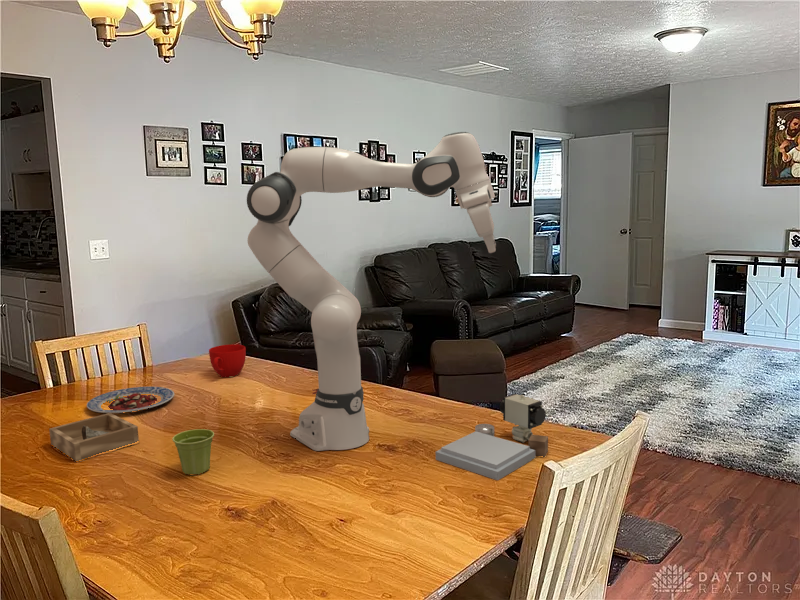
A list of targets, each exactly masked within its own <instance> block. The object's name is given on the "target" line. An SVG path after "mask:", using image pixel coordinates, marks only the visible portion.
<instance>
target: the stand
mask: <svg viewBox="0 0 800 600" xmlns="http://www.w3.org/2000/svg"><path fill="white" fill-rule="evenodd" d="M534 458H535V459H536V456H535V450H533V449H530V446H529V445H527V444H523V443H519V442H515V441H512V440H508V439H504V438H500V437H498V436H495V435H494V436H491V435H487V434H484V433H480V432H476V431H475V430H474V432H471V433H469V434H467V435H464V436H463V437H461V438H459V439H456V440H454V441H452V442H450V443H447V444H445V445H444V446H441V447H440V449H438V450H436V451H435V460H436V461H438V462H442V463H445V464H448V465H451V466H453V467H456V468H459V469H463V470H466V471H468V472H472V473H474V474H478V475H480V476H484V477H487V478H489V479H492V480H496V481H499V480H501V479H502V478H504V477H506V476H508V475H509V474H511V473H512V472H515V471H516V470H518V469H520V468H521V467H524V465H526V464H528V463H529V462H532V461H533V460H535V459H534ZM532 459H533V460H532Z"/></svg>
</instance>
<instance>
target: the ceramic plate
mask: <svg viewBox="0 0 800 600" xmlns="http://www.w3.org/2000/svg"><path fill="white" fill-rule="evenodd" d="M141 394H151V395H148V396H147V395H141ZM152 394H154V395H158V396H160V397H161V401H160V402H158V403H156V404H153V405H151V404H152V403H155V401H157V398H156V397H155V396H153V395H152ZM129 395H130V396H129ZM123 396H127V397H123ZM119 397H120V398H119ZM174 397H175V392H174V390H173V389H171V388H168V387H163V386H136V387H135V386H134V387H128V388H121V389H117V390H113V391H109V392H105V393H102V394H100V395H97V396H95V397H93V398H92V399H90V400H89V401H87V403H86V408H87V409H88V410H90V411H92V412H96V413H103V414H107V413H111V414H124V413H123V412H131V413H133V412H132V411H138V410H142V411H144V410H143V409H146V410H149V409H152V408H154V407H158V406H161V405H163V404H166V403H167V402H169V401H171V400H172V399H173V398H174ZM111 399H113V400H115V401H113V400H111ZM106 401H107V402H108V401H109V403H110V402H111V401H113V402H112V403H111V404H110V405H109V406H108V407H109V408H110V409H113V410H103V409H102V408H101V405H102V404H103V403H105V402H106ZM149 405H150V406H149ZM148 408H149V409H148ZM138 412H139V411H138Z"/></svg>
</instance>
